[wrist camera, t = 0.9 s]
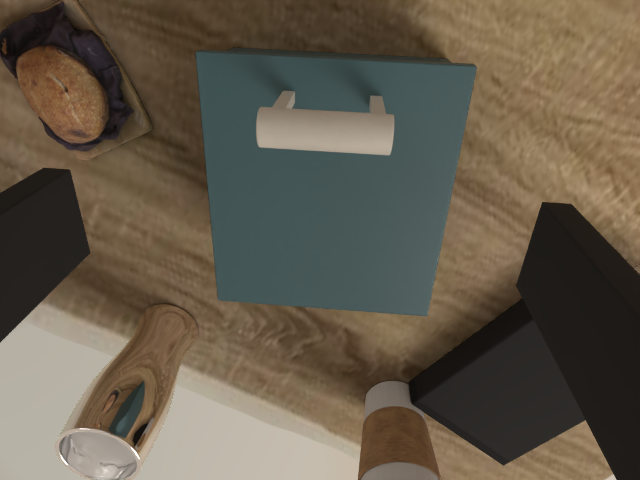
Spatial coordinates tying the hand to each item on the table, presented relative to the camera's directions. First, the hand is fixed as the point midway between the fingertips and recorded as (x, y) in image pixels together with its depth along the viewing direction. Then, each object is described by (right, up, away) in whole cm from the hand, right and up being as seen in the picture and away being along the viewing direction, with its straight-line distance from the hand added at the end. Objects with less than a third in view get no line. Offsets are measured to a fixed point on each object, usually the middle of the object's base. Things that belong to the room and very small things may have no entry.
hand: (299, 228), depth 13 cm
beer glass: (-15, -9, +34) cm, 39 cm away
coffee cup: (+9, -18, +37) cm, 42 cm away
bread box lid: (+1, +3, +17) cm, 17 cm away
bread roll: (-18, +12, +23) cm, 31 cm away
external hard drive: (+23, -12, +33) cm, 42 cm away
